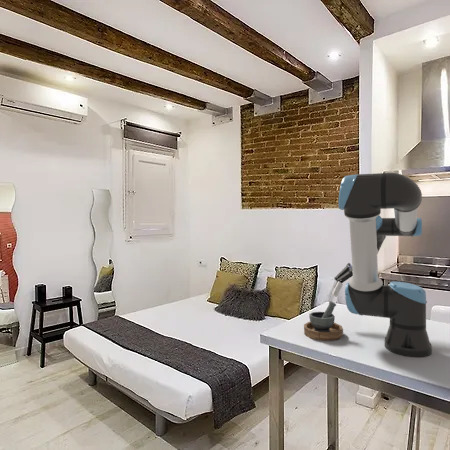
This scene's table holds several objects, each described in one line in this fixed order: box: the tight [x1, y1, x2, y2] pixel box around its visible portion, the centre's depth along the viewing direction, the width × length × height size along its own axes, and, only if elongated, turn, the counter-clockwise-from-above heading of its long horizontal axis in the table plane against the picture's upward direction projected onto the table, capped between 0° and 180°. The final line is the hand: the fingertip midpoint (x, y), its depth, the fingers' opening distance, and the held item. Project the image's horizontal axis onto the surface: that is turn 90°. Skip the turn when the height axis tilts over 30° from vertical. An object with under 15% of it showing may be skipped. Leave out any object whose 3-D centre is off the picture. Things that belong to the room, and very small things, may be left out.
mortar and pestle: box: [309, 301, 337, 332], centre depth 143 cm, size 11×9×12 cm
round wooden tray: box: [303, 321, 344, 342], centre depth 143 cm, size 15×15×3 cm
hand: (346, 298), depth 149 cm, fingers open, 13 cm apart
